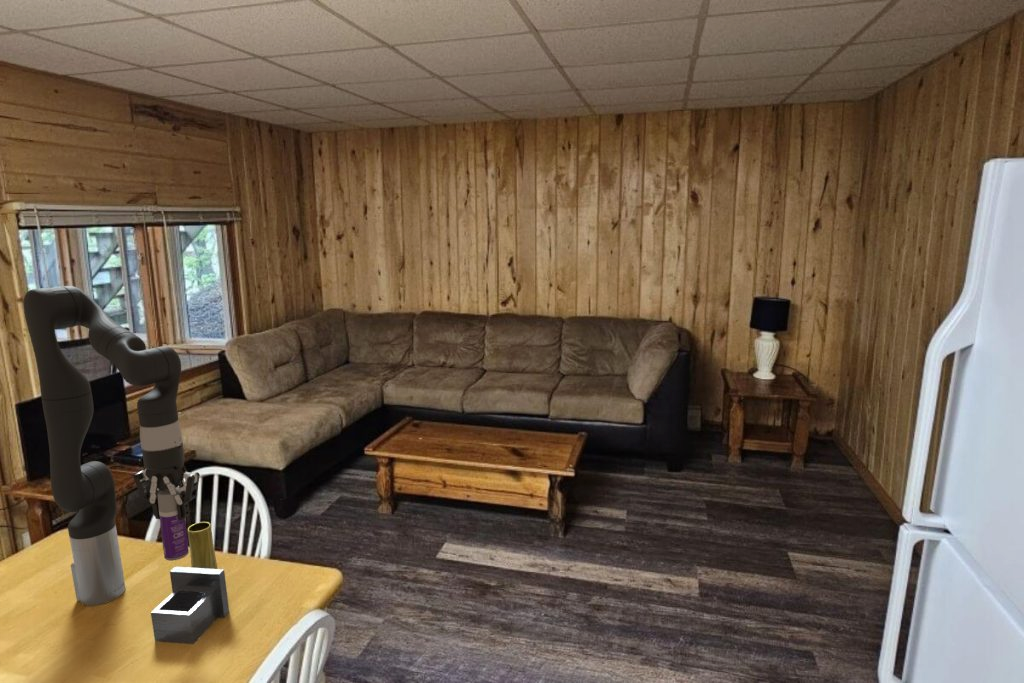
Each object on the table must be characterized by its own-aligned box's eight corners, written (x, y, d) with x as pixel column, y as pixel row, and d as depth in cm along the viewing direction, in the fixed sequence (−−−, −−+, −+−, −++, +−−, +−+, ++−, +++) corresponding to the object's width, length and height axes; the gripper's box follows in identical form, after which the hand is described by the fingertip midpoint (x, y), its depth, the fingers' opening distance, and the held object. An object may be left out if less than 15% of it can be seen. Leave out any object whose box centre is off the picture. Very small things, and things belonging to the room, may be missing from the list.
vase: (186, 582, 155) (179, 530, 152) (206, 569, 160) (200, 519, 158) (204, 587, 153) (197, 534, 150) (224, 574, 158) (218, 523, 155)
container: (178, 561, 131) (170, 496, 128) (159, 559, 132) (151, 494, 129) (193, 550, 136) (186, 486, 133) (175, 548, 136) (167, 484, 133)
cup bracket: (148, 640, 133) (141, 595, 131) (181, 609, 144) (175, 566, 142) (200, 644, 132) (193, 598, 130) (229, 612, 143) (224, 569, 140)
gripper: (117, 448, 126) (128, 525, 129) (182, 450, 124) (192, 528, 127) (143, 435, 133) (153, 508, 136) (204, 437, 131) (213, 511, 135)
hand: (172, 517), depth 132 cm, fingers closed on container, 4 cm apart
